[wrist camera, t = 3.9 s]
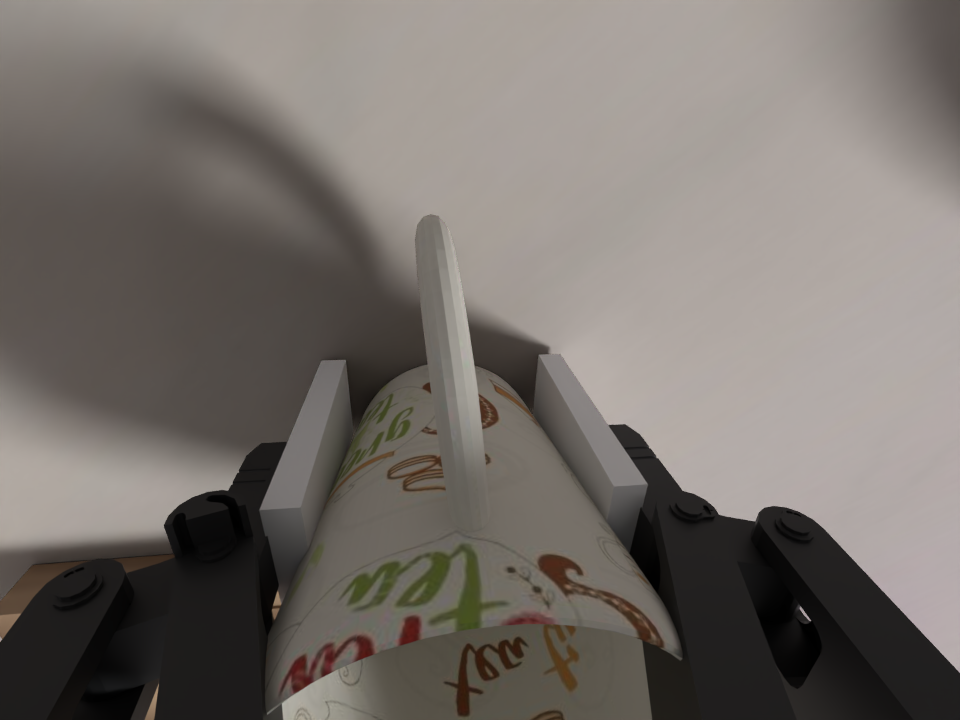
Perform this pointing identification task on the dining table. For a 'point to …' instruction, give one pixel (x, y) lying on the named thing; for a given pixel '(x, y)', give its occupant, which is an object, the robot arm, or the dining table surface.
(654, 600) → the mug
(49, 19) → the dining table surface
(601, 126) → the dining table surface
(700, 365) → the dining table surface
